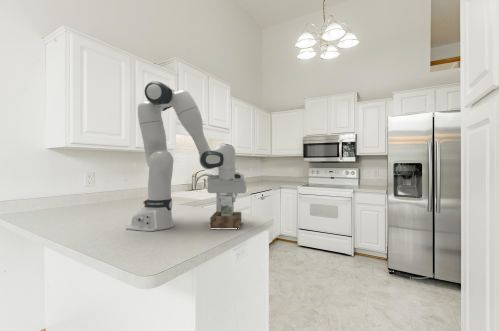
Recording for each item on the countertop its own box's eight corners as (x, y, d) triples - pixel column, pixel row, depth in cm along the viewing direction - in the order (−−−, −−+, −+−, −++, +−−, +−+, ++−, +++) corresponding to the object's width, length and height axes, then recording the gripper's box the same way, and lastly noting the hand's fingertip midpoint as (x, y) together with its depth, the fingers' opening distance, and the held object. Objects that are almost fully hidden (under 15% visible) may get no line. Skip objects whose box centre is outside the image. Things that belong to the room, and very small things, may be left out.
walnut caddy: (210, 229, 117) (210, 217, 117) (216, 222, 131) (216, 211, 131) (238, 229, 116) (238, 217, 116) (241, 222, 130) (241, 212, 130)
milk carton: (225, 222, 132) (225, 187, 132) (216, 220, 136) (216, 187, 136) (233, 219, 137) (233, 187, 137) (224, 218, 142) (224, 186, 142)
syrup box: (233, 222, 127) (233, 194, 127) (231, 224, 121) (231, 196, 121) (222, 221, 127) (222, 194, 127) (220, 224, 121) (220, 195, 121)
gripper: (205, 175, 121) (205, 202, 121) (245, 175, 120) (245, 202, 120) (208, 174, 127) (208, 200, 127) (246, 174, 126) (246, 200, 126)
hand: (227, 201), depth 124 cm, fingers closed on syrup box, 6 cm apart
